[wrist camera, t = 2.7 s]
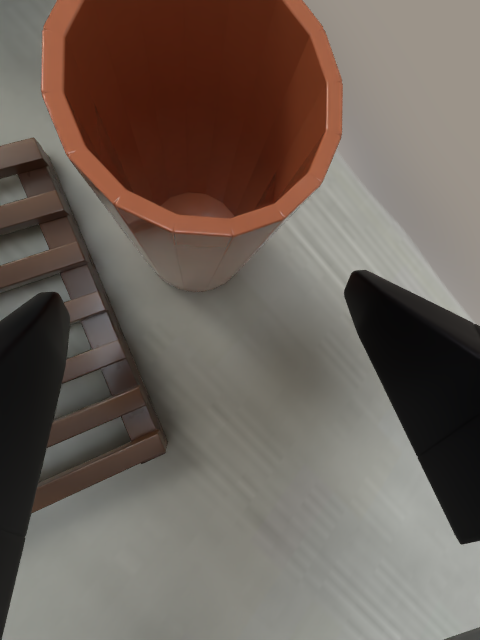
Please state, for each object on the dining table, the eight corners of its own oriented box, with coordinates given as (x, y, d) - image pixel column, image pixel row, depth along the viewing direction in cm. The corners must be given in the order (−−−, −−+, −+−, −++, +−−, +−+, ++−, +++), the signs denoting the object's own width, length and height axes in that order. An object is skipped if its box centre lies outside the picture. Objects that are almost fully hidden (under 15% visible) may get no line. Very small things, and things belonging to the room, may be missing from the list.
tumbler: (258, 272, 20) (379, 186, 7) (166, 306, 19) (116, 277, 6) (223, 179, 20) (286, -86, 7) (127, 209, 18) (-15, -42, 6)
